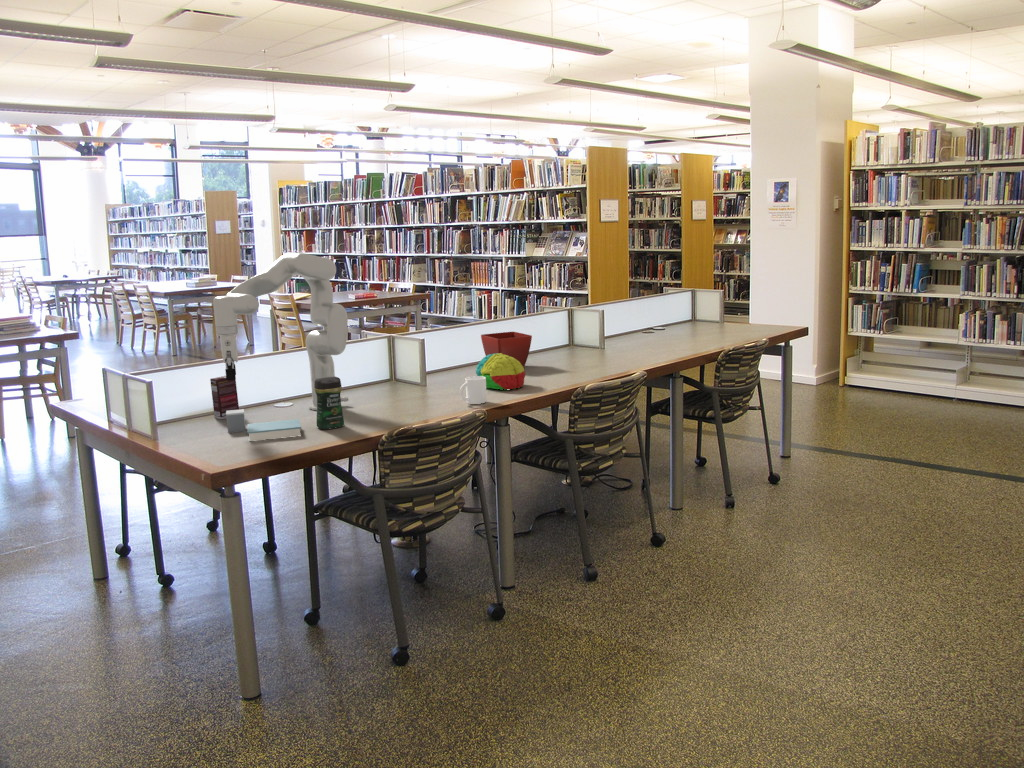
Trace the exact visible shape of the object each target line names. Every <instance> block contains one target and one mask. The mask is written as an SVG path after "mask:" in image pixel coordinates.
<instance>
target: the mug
mask: <svg viewBox="0 0 1024 768" xmlns="http://www.w3.org/2000/svg"><path fill="white" fill-rule="evenodd" d="M464 389H465V395H466V396H464ZM487 395H488V394H487V388H486V377H483V376H477V375H472V376H466V377H465V382H464V383H463V384H462V385H461V386H460V388H459V396H460V398H461V400H462V401H466V404H468V405H470V404H480V403H484V402H486V401H488V398H487ZM486 403H487V402H486Z"/></svg>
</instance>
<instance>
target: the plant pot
mask: <svg viewBox="0 0 1024 768" xmlns="http://www.w3.org/2000/svg"><path fill="white" fill-rule="evenodd" d="M480 338H481V345H482V347H483V351H484V355H485V357H486V356H487V355H490V354H496V353H502V354H503V355H508V356H509V357H513V358H514V359H516V360H518V361H519V362H520V363H521V365H522V366H523V368H525V366H526V363H527V360H528V358H529V354H530V349H531V345H532V338H533V335H531V334H526V333H523V332H522V333H521V332H517V331H506V332H505V331H504V332H503V331H502V332H495V333H494V332H493V333H484V334H480Z"/></svg>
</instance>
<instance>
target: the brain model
mask: <svg viewBox="0 0 1024 768" xmlns="http://www.w3.org/2000/svg"><path fill="white" fill-rule="evenodd" d="M524 368H525V367H524ZM524 368H523V366H522V365H521V363H520V362H519V361H518V360H516V359H514V358H513V357H509V356H508V355H503V354H502V353H496V354H490V355H487V356H486V355H485V356H484V357H483V358H482V359H481V360H480V361H479V362H478V364H477V366H476V370H475V374H476V376H483V377H486V389H492V390H498V389H500V390H499V391H508V390H507V389H515V390H517V389H516V388H518V389H521V388H522V387H523V386H524V384H525V378H526V371H525V369H524ZM520 387H521V388H520ZM503 389H504V390H503Z"/></svg>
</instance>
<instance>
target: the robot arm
mask: <svg viewBox="0 0 1024 768" xmlns="http://www.w3.org/2000/svg"><path fill="white" fill-rule="evenodd" d="M336 273H337V266H336V264H335V262H334V261H333V260H332V259H330V258H328V257H327V258H326V257H322V256H317V255H312V254H310V253H309V254H308V253H303V252H288V253H285V254H283V255H280V256H279V258H277V259H276V260H275V261H273V262H272V264H269V266H267V268H265V269H264V270H263V271H262V272H260V273H258V274H255V275H254V276H252V277H250V278H248V279H246V280H245V281H242V282H240V283H239V284H238V285H236V286H234V287H233V288H232V289H231V290H230V291H229V292H227V294H226V295H219V296H216V297H214V298H213V301H212V302H213V304H212V305H213V313H214V314H213V315H214V325H215V335H216V337H219V340H220V349H221V356H222V360H223V363H224V364H225V370H224V371H225V376H226V380H235V379H237V378H236V375H237V372H236V371H237V370H236V364H235V363H238V362H239V356H238V355H239V354H238V343H237V338H236V336H237V335H239V326H238V315H240V316H241V315H246V316H250V315H254V313H256V312H257V311H258V309H259V306H260V303H259V300H258V297H261V296H264V295H269V294H271V293H274V292H277V291H278V290H279V289H280V288H281V287H283V285H285V284H286V283H287V282H288V281H290V280H291V279H292V278H293V277H296V276H297V277H298V276H300V277H302V278H303V279H304V280H305V282H307V284H308V285H309V286H308V287H309V288H310V312H309V313H310V321H311V323H312V324H313V325H315V326H317V327H323V328H327V329H326V330H325V329H315V330H314V329H313V330H312V331H310V332H309V333H308V334H307V335H306V337H305V348H306V352H307V354H308V355H307V356H308V361H309V371H310V383H311V398H312V403H311V404H309V405H308V407H309V409H310V410H311V409H312V411H317V395H316V392H315V390H314V385H315V379H319V378H326V377H336V373H335V362H334V358H333V356H338V355H341V354H343V352H345V350H346V346H347V342H348V341H347V340H348V321H349V320H348V313H347V310H346V309H345V307H344V306H343V305H342V304H339V303H334V294H333V293H334V290H333V286H332V284H331V281H330V280H332V279H334V278H335V276H336ZM340 399H341V403H343V402H349V396H345V395H344V396H340Z"/></svg>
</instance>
